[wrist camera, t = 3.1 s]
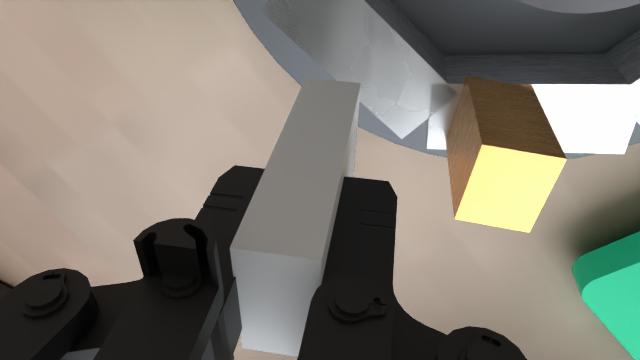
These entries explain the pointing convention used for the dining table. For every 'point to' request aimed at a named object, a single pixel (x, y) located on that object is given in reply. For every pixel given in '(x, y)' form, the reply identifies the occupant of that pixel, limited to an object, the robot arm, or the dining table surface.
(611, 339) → the dining table surface
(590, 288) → the camera mount
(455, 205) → the ring nut
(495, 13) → the base plate
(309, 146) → the robot arm
